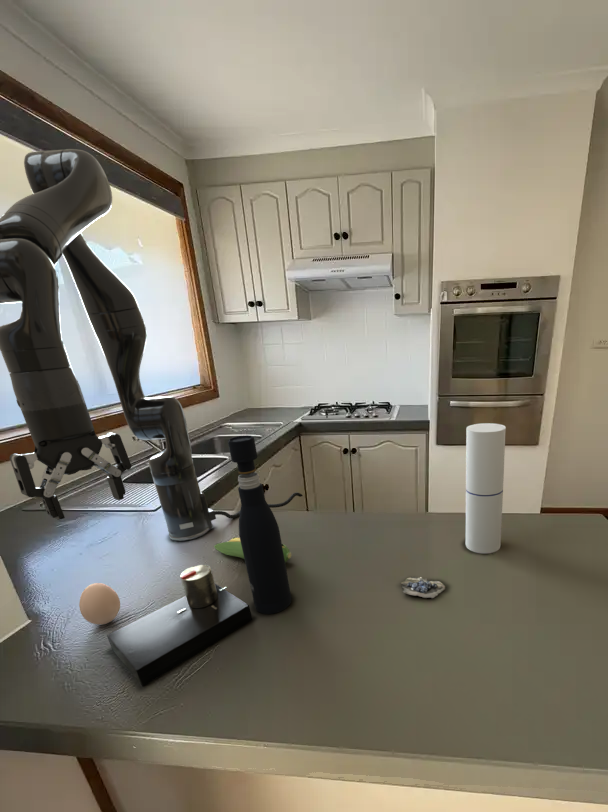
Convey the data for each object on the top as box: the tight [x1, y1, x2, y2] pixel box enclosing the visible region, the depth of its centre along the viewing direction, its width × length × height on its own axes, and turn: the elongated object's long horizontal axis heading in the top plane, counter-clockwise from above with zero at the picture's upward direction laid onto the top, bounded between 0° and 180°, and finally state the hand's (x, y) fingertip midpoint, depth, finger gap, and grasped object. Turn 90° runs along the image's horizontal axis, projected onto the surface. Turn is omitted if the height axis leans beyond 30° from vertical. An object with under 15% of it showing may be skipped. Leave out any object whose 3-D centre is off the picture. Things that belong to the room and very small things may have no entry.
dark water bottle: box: [227, 435, 292, 615], centre depth 69 cm, size 6×6×30 cm
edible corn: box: [213, 537, 292, 563], centre depth 90 cm, size 5×20×5 cm, turn 64°
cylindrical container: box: [464, 422, 507, 554], centre depth 84 cm, size 7×7×25 cm
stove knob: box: [179, 564, 218, 608], centre depth 71 cm, size 5×5×6 cm
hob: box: [106, 582, 253, 687], centre depth 69 cm, size 18×12×3 cm
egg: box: [78, 582, 121, 626], centre depth 72 cm, size 6×6×8 cm
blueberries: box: [400, 576, 446, 599], centre depth 75 cm, size 7×8×2 cm
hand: (91, 508), depth 66 cm, fingers open, 8 cm apart
